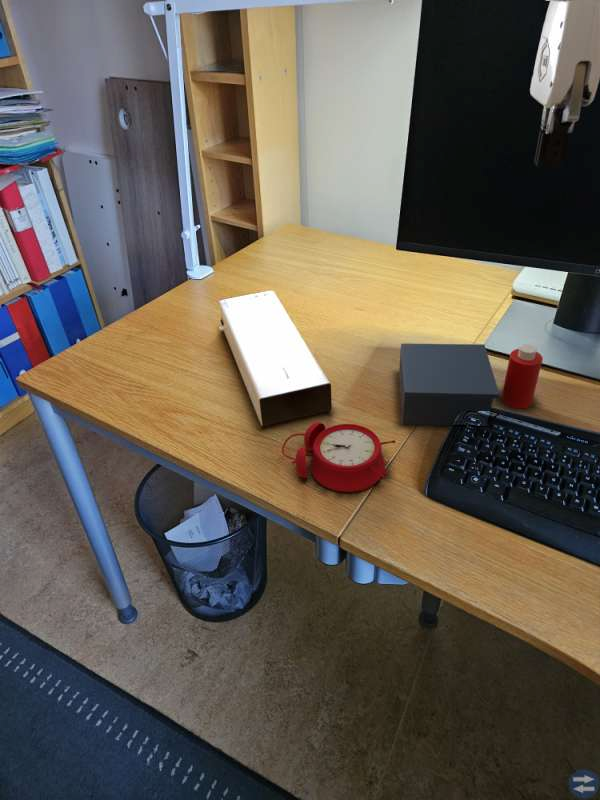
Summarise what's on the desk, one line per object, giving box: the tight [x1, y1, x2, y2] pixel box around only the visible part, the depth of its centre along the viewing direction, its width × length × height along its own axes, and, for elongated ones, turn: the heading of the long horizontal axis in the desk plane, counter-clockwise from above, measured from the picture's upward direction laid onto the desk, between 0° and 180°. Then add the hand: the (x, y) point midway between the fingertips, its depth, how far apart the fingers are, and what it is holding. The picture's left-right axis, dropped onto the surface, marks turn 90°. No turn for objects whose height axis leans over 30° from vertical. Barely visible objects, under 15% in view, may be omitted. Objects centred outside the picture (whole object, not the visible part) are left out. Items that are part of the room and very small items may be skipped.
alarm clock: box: [281, 421, 396, 493], centre depth 78 cm, size 10×6×15 cm
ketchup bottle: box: [500, 343, 543, 410], centre depth 86 cm, size 5×5×10 cm
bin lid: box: [400, 343, 500, 399], centre depth 86 cm, size 13×14×1 cm
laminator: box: [218, 289, 333, 428], centre depth 98 cm, size 34×12×6 cm, turn 17°
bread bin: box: [398, 351, 494, 427], centre depth 88 cm, size 13×14×5 cm
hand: (548, 165), depth 69 cm, fingers closed
